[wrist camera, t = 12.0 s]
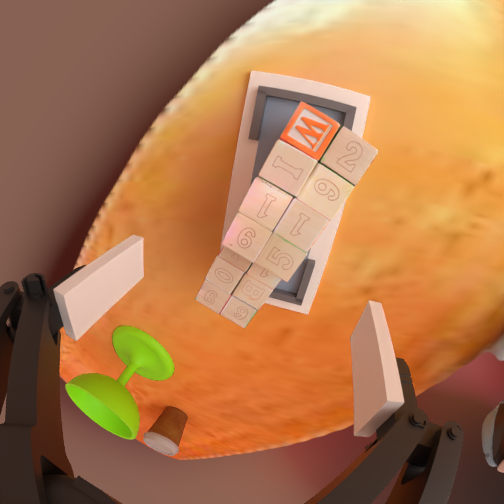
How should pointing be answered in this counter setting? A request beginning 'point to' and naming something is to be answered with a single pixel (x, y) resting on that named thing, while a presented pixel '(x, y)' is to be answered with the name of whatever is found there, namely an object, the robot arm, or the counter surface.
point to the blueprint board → (259, 147)
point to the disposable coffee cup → (166, 431)
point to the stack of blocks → (284, 212)
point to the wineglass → (121, 382)
